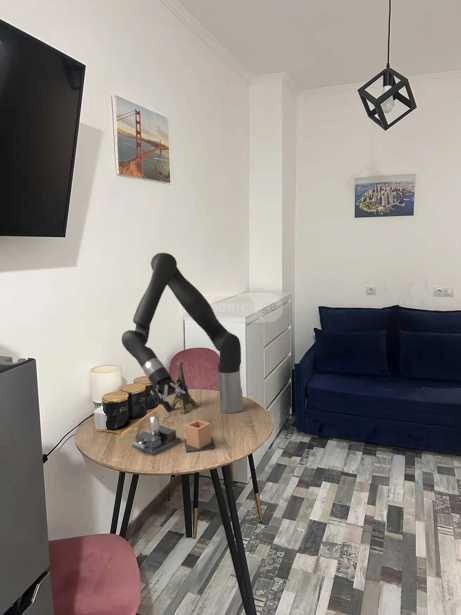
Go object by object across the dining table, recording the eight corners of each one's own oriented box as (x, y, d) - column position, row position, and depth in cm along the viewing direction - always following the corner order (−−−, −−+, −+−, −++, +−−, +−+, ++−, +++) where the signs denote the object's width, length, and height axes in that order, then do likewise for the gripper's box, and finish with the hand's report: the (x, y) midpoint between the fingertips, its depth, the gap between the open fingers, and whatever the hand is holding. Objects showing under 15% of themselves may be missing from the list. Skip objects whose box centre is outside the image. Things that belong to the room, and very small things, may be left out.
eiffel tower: (182, 403, 206) (178, 349, 202) (200, 406, 199) (196, 351, 196) (166, 410, 197) (161, 354, 194) (184, 414, 191) (179, 356, 188)
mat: (211, 437, 167) (211, 436, 167) (215, 449, 157) (215, 447, 157) (184, 440, 165) (184, 439, 165) (186, 452, 155) (186, 451, 155)
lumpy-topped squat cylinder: (92, 428, 183) (89, 407, 181) (116, 416, 193) (114, 397, 192) (110, 432, 177) (108, 411, 176) (134, 420, 188) (132, 400, 186)
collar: (199, 438, 165) (197, 419, 164) (211, 442, 161) (210, 423, 160) (186, 444, 161) (185, 425, 160) (199, 448, 157) (197, 429, 156)
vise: (160, 434, 172) (158, 408, 170) (180, 441, 164) (178, 414, 163) (128, 449, 161) (125, 421, 159) (148, 457, 153) (145, 428, 152)
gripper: (145, 371, 164) (169, 408, 158) (174, 362, 174) (198, 396, 169) (137, 383, 168) (160, 419, 162) (166, 373, 179) (189, 407, 173)
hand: (179, 407), depth 165 cm, fingers open, 8 cm apart
